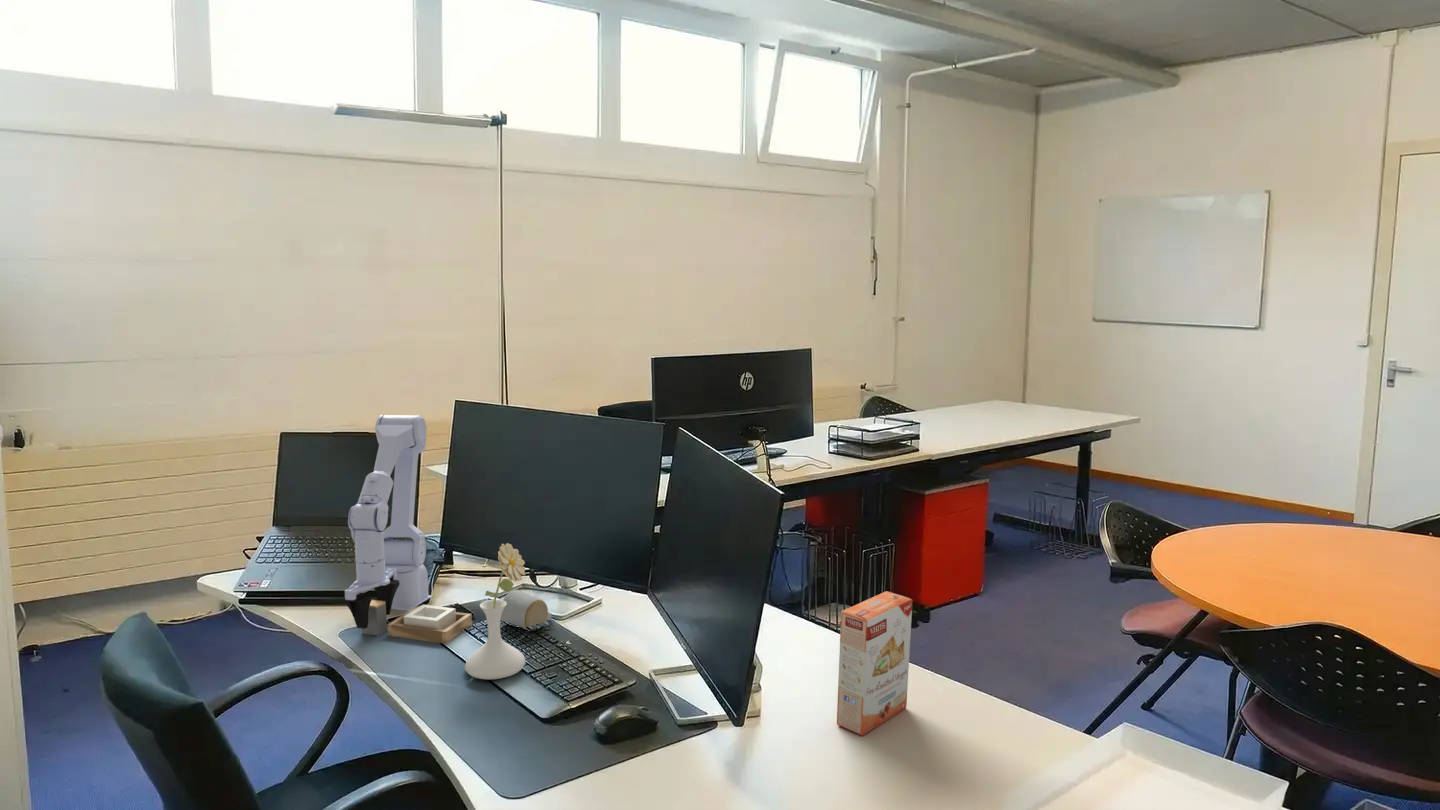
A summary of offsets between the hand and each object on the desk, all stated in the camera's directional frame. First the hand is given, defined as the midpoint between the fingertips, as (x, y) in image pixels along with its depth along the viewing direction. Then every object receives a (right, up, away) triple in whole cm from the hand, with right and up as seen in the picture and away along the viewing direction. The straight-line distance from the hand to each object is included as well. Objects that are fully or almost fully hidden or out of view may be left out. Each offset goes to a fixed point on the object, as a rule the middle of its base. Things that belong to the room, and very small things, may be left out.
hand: (373, 620), depth 190 cm
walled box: (+12, -3, +1) cm, 12 cm away
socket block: (+12, -2, +1) cm, 12 cm away
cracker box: (+100, -9, -33) cm, 106 cm away
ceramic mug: (+32, -3, +6) cm, 32 cm away
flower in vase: (+31, -6, -16) cm, 35 cm away
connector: (0, -3, +1) cm, 3 cm away
